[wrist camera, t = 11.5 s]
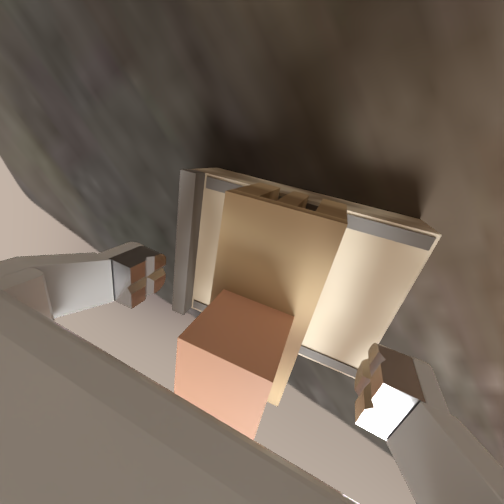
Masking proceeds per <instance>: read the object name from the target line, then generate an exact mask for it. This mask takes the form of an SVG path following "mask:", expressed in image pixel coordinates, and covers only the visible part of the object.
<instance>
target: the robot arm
mask: <svg viewBox="0 0 504 504" xmlns="http://www.w3.org/2000/svg"><path fill="white" fill-rule="evenodd" d="M165 265H166V257H165V256H164V254H162V253H159V252H157V251H155V250H153V249H150V248H148V247H146V246H143V245H141V244H139V243H136V242H129V243H126V244H123V245H120V246H118V247H115V248H112V249H109V250H107V251H104V252H101V253H98V254H97V253H76V254H59V255H40V256H23V257H22V256H21V257H14V258H10V259H7V260H3V261H0V504H360V503H358V502H356V501H354V500H353V499H351V498H349V497H348V496H346V495H344V494H343V493H341V492H339V491H338V490H336V489H334V488H333V487H331V486H329V485H327V484H326V483H324V482H323V481H321V480H319V479H318V478H316V477H314V476H313V475H311V474H309V473H308V472H306V471H304V470H303V469H301V468H299V467H298V466H296V465H294V464H292V463H291V462H289V461H287V460H286V459H284V458H282V457H281V456H279V455H277V454H276V453H274V452H272V451H271V450H269V449H267V448H266V447H264V446H262V445H261V444H259V443H257V442H256V441H254V440H252V439H251V438H249V437H247V436H246V435H244V434H242V433H241V432H239V431H237V430H235V429H234V428H232V427H230V426H229V425H227V424H225V423H224V422H222V421H220V420H219V419H217V418H215V417H214V416H212V415H210V414H209V413H207V412H205V411H204V410H202V409H200V408H199V407H197V406H195V405H194V404H192V403H190V402H188V401H187V400H185V399H183V398H182V397H180V396H178V395H177V394H175V393H173V392H172V391H170V390H168V389H167V388H165V387H163V386H162V385H160V384H158V383H157V382H155V381H153V380H151V379H150V378H148V377H146V376H145V375H143V374H142V373H140V372H138V371H137V370H135V369H133V368H131V367H130V366H128V365H127V364H125V363H123V362H122V361H120V360H118V359H117V358H115V357H113V356H112V355H110V354H108V353H107V352H105V351H103V350H102V349H100V348H98V347H97V346H95V345H93V344H91V343H90V342H88V341H86V340H85V339H83V338H81V337H80V336H78V335H76V334H75V333H73V332H71V331H70V330H68V329H66V328H65V327H63V326H61V325H60V324H58V323H56V322H55V321H54V318H57V317H61V316H64V315H68V314H71V313H75V312H78V311H82V310H86V309H89V308H93V307H96V306H100V305H104V304H107V303H110V302H114V301H116V302H118V303H120V304H123V305H125V306H127V307H129V308H131V309H132V308H134V307H135V306H137V305H138V304H140V303H141V302H143V301H144V300H145V299H146V295H150V294H154V293H156V292H157V291H159V290H160V288H161V287H162V286H163V284H164V281H165V275H166V274H165V272H164V269H163V267H164V266H165ZM355 391H356V392H357V394H358V396H359V397H358V398H357V400H356V401H355V424H357V425H359V426H361V427H362V428H364V429H366V430H368V431H370V432H372V433H374V434H375V435H377V436H379V437H381V438H383V439H385V440H386V443H387V445H388V447H389V449H390V451H391V453H392V455H393V457H394V459H395V461H396V463H397V465H398V467H399V469H400V471H401V473H402V475H403V477H404V479H405V481H406V483H407V485H408V488H409V490H410V492H411V494H412V495H413V498H414V500H415V501H416V504H504V469H503V468H502V467H501V466H500V465H499V463H498V462H497V461H496V460H495V459H494V458H493V457H492V456H491V455H490V454H489V452H488V451H487V450H486V449H485V448H484V447H483V446H482V445H481V444H480V442H479V441H478V440H477V439H476V438H475V437H474V436H473V435H472V434H471V433H470V431H469V430H468V429H467V428H466V427H465V426H464V425H463V424H462V423H461V422H460V420H459V419H458V418H456V417H454V416H452V415H450V412H449V410H448V407H447V405H446V402H445V400H444V397H443V395H442V392H441V390H440V387H439V384H438V382H437V379H436V377H435V374H434V372H433V369H432V367H431V366H430V365H429V364H428V363H426V362H424V361H421V360H419V359H416V358H413V357H411V356H407V355H405V354H402V353H400V352H397V351H395V350H392V349H390V348H387V347H385V346H382V345H380V344H377V343H373V344H372V345H371V347H370V348H369V350H368V359H365V360H362V362H361V364H360V366H359V367H358V370H357V373H356V377H355Z"/></svg>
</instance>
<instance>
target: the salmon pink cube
mask: <svg viewBox="0 0 504 504" xmlns="http://www.w3.org/2000/svg"><path fill="white" fill-rule="evenodd" d="M293 320H294V316H291V315H289V314H286V313H284V312H281V311H279V310H276V309H273V308H271V307H268V306H266V305H263V304H261V303H258V302H255V301H253V300H250V299H248V298H245V297H243V296H240V295H237V294H235V293H232V292H230V291H227V290H225V289H223V290H222V292H221V293H220V294H219V295H218V296H217V297H216V298H215V299H214V300H213V301H212V302H211V303H210V304H209V305H208V306H207V307H206V308H205V309H204V310H203V312H202V313H201V314H200V315H199V316H198V317H197V318H196V319H195V320H194V321H193V322H192V323H191V324H190V325H189V326H188V327H187V328H186V329H185V331H184V332H183V333H182V334H181V335H180V336H179V337H178V341H177V356H176V371H175V385H174V393H175V394H177V395H178V396H180V397H182V398H183V399H185V400H187V401H188V402H190V403H192V404H194V405H195V406H197V407H199V408H200V409H202V410H204V411H205V412H207V413H209V414H210V415H212V416H214V417H215V418H217V419H219V420H220V421H222V422H224V423H225V424H227V425H229V426H230V427H232V428H234V429H235V430H237V431H239V432H241V433H242V434H244V435H246V436H247V437H249V438H251V439H252V440H254V437H255V435H256V432H257V429H258V426H259V423H260V419H261V417H262V414H263V411H264V408H265V405H266V402H267V399H268V396H269V393H270V390H271V387H272V385H273V382H274V378H275V375H276V372H277V369H278V366H279V363H280V360H281V357H282V354H283V351H284V347H285V344H286V341H287V338H288V335H289V332H290V329H291V326H292V323H293Z"/></svg>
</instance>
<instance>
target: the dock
mask: <svg viewBox="0 0 504 504" xmlns="http://www.w3.org/2000/svg"><path fill="white" fill-rule="evenodd" d="M256 183H264V184H268V185H272V186H276V187H280V192H279V197H278V200H279V199H280V198H282V197H284V196H286V195H287V194H289V193H291V192H293V191H296V192H300V193H304V194H307V195H309V198H308V201H307V204H306V208H305V209H308V210H312V211H316V210H317V208H318V206H319V204H320V203H321V201H322V199H327V200H331V201H335V202H339V203H343V204H347V221H348V225H347V227H346V230H345V233H344V235H343V238H342V241H341V243H340V246H339V248H338V251H337V254H336V256H335V259H334V261H333V264H332V267H331V269H330V272H329V274H328V277H327V280H326V282H325V285H324V287H323V290H322V293H321V295H320V298H319V300H318V303H317V306H316V308H315V311H314V313H313V316H312V319H311V321H310V324H309V326H308V329H307V332H306V334H305V337H304V340H303V342H302V345H301V347H300V350H299V353H298V354H299V355H302V356H304V357H306V358H308V359H311V360H313V361H315V362H318V363H320V364H322V365H325V366H327V367H329V368H331V369H334V370H336V371H338V372H341V373H343V374H345V375H348V376H350V377H352V378H354V379H355V377H356V373H357V370H358V367H359V366H360V364H361V362H362V360H365V359H368V350H369V348H370V347H371V345H372V344H373V343H377V344H379V342H380V340H381V339H382V337H383V335H384V333H385V332H386V330H387V328H388V327H389V325H390V323H391V321H392V320H393V318H394V316H395V315H396V313H397V311H398V309H399V308H400V306H401V304H402V303H403V301H404V299H405V297H406V296H407V294H408V292H409V290H410V289H411V287H412V285H413V284H414V282H415V280H416V278H417V277H418V275H419V273H420V272H421V270H422V268H423V266H424V265H425V263H426V261H427V260H428V258H429V256H430V254H431V253H432V251H433V249H434V248H435V246H436V244H437V242H438V241H439V239H440V237H441V234H439V233H438V232H437V231H435V230H434V229H433V228H431V227H430V226H429V225H427V224H426V223H425V222H424V221H422V220H421V219H417V218H413V217H410V216H406V215H402V214H398V213H394V212H390V211H386V210H382V209H378V208H374V207H370V206H366V205H362V204H358V203H354V202H351V201H347V200H343V199H339V198H335V197H331V196H327V195H323V194H319V193H315V192H311V191H307V190H303V189H299V188H296V187H292V186H288V185H284V184H280V183H276V182H272V181H268V180H264V179H260V178H256V177H252V176H248V175H244V174H240V173H237V172H233V171H229V170H225V169H221V168H199V169H180V184H179V201H178V218H177V235H176V252H175V269H174V286H173V303H172V310H173V311H176V312H178V313H180V314H182V315H184V314H185V313H186V312H187V311H188V310H189V309H191V308H193V309H196V310H198V311H200V312H203V310H204V309H205V308H206V307H207V306H208V305H209V304H210V298H211V291H212V284H213V277H214V270H215V263H216V255H217V248H218V241H219V234H220V227H221V220H222V212H223V205H224V198H225V191H227V190H231V189H235V188H239V187H243V186H247V185H252V184H256Z"/></svg>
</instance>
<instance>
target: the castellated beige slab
mask: <svg viewBox="0 0 504 504" xmlns="http://www.w3.org/2000/svg"><path fill="white" fill-rule="evenodd" d="M279 192H280V187H276V186H272V185H268V184H264V183H256V184H252V185H247V186H243V187H239V188H235V189H231V190H227V191H225V198H224V205H223V212H222V220H221V227H220V234H219V241H218V248H217V255H216V263H215V270H214V277H213V284H212V291H211V298H210V303H211V302H212V301H213V300H214V299H215V298H216V297H217V296H218V295H219V294H220V293H221V292H222V290H223V289H225V290H227V291H230V292H232V293H235V294H237V295H240V296H243V297H245V298H248V299H250V300H253V301H255V302H258V303H261V304H263V305H266V306H268V307H271V308H273V309H276V310H279V311H281V312H284V313H286V314H289V315H291V316H294V320H293V323H292V326H291V329H290V332H289V335H288V338H287V341H286V344H285V347H284V351H283V354H282V357H281V360H280V363H279V366H278V369H277V372H276V375H275V378H274V382H273V385H272V387H271V390H270V393H269V396H268V399H267V402H269V403H271V404H273V405H276V406H278V405H279V402H280V399H281V397H282V394H283V392H284V389H285V386H286V384H287V381H288V379H289V376H290V373H291V371H292V368H293V366H294V363H295V360H296V358H297V355H298V353H299V350H300V347H301V345H302V342H303V340H304V337H305V334H306V332H307V329H308V326H309V324H310V321H311V319H312V316H313V313H314V311H315V308H316V306H317V303H318V300H319V298H320V295H321V293H322V290H323V287H324V285H325V282H326V280H327V277H328V274H329V272H330V269H331V267H332V264H333V261H334V259H335V256H336V254H337V251H338V248H339V246H340V243H341V241H342V238H343V235H344V233H345V230H346V227H347V225H348V221H347V204H343V203H339V202H335V201H331V200H327V199H322V201H321V203H320V204H319V206H318V208H317V210H316V211H312V210H308V209H305V208H306V204H307V201H308V198H309V195H307V194H304V193H300V192H296V191H293V192H291V193H289V194H287V195H286V196H284V197H282V198H280V199H279V200H278V197H279Z"/></svg>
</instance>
